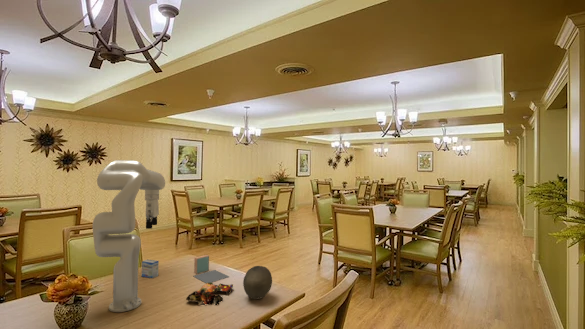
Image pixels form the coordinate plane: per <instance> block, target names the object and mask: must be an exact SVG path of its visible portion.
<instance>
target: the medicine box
mask: <svg viewBox="0 0 585 329" xmlns="http://www.w3.org/2000/svg"><path fill="white" fill-rule="evenodd" d="M159 264H160V263H159V260H155V259H154V260H153V259H145V260H144V259H143V261H142V262H141V277H142V278H149V279H155V278H157V277H158V276H159Z"/></svg>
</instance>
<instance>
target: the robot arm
mask: <svg viewBox="0 0 585 329" xmlns="http://www.w3.org/2000/svg"><path fill="white" fill-rule="evenodd" d="M96 183H97V187H98V188H99V189H101V190H103V191H120V192H118V193H117V194H116V195H115V197H114V198H113V199H112V200H111V211H103V212H99V213H97V214H96V215H95V217H93V220H92V235H93V236H92V237H93V246H94V252H95V254H96V256H97V257H99V258H113V257H114V258H119V259H118V261H117V262H115V264H114V267H113V279H112V280H113V282H112V284H113V288H112V289H113V292H112V302H111V303H109V305H108V310H109V311H110V312H112V313H122V312H128V311H131V310H134V309H137V308H138V307H140V306H141V304H142V298H140V297H138V296H139V295H138V294H139V293H138V292H139V291H138V289H139V288H138V286H139V259H140V257H139V256H140V250H141V244H142V239H141V237H140V236H139V235H137V234H135V233H132V232H134V230H135V229H136V212H135V208H136V207H135V201H136V198H137V195H138V193H139V191H140V190H141V191H144V201H145V229H146V230H148V229H151V230H152V229H153V226H157V225H158V216H159V215H160V212H159V211H160V210H159V209H160V207H159V200H160V191H161V190H163V189H164V188H165V187H166V180H165V177H164V176H163V174H162V173H160V172H158V171H154V170H151V169H147V168H146V167H145V165H144V164H143V163H141V162H140V161H138V160H133V159H125V160H124V159H116V160H113V161H111V162H109V163H108V164H107V165H106V166H105V167H103V169H102V170H101V171H100V172H98V176H97V178H96Z"/></svg>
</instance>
